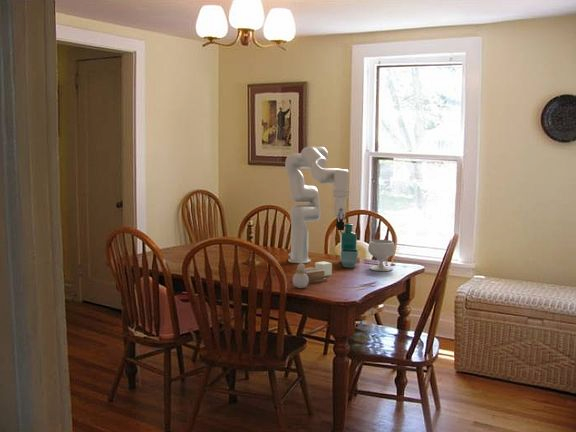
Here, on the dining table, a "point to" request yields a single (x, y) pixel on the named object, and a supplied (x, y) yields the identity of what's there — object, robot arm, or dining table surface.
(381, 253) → the chalice
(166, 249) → the dining table surface
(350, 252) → the flower pot
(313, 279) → the walnut pedestal
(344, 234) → the pitcher
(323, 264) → the cream block
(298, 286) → the perfume bottle
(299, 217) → the robot arm
